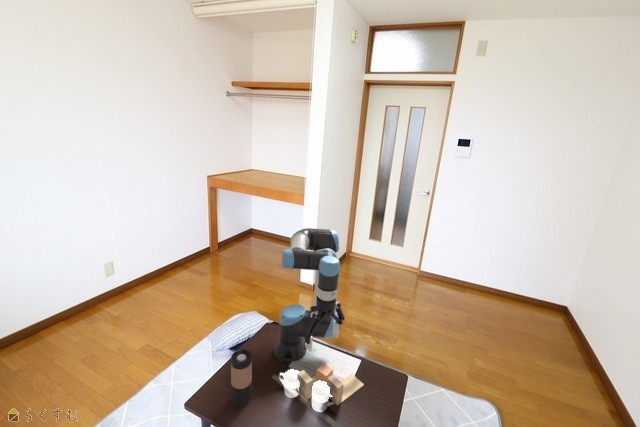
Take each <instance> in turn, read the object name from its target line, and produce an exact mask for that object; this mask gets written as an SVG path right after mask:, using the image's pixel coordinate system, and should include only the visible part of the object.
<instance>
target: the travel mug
mask: <svg viewBox="0 0 640 427" xmlns="http://www.w3.org/2000/svg"><path fill="white" fill-rule="evenodd" d="M252 360H253V359H252V352H251V351H249V350H247V349H242V350H239V351H238V350H236V351H234V352H233V353H232V354H231V357H230V385H231V386H230V387H231V401H232V403H233V404H234V406H237V407H241V406H246V405H247V404H248V403H249V402H250V400H251V397H252V380H253V379H252V378H253V376H252V374H253V373H252V372H253V371H252V370H253V366H252V364H253V363H252Z"/></svg>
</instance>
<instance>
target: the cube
mask: <svg viewBox="0 0 640 427" xmlns="http://www.w3.org/2000/svg"><path fill="white" fill-rule="evenodd" d="M332 375H334V368H333V367H331V366H330V365H328V364H326V363H325V362H324V363H323V364H321V365H320V366H319V367H318V368H317V369H316V375H315V376H316V379H317V380H321V381H325V382H327V379H328V378H329V377H330V376H332Z"/></svg>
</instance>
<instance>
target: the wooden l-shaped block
mask: <svg viewBox="0 0 640 427" xmlns="http://www.w3.org/2000/svg"><path fill="white" fill-rule="evenodd" d="M327 385H328V386H329V387H330V394H331V395H332V396H333V397H331V398H329V399H330V400H331V401H332V402H333V403H334V404H335V405H336V406H339V405H340V404H341V403H342V402H344V401H345V400H346V399H348V398H349V397H350V396H352V395H353V394H354V393H355V392H357V391H358V390H360V388H362V387H364V385H365V384H364V383H363V382H362V381H361V380H360V379H358V378H357V377H356V376H355V375H354V374H352V373H351V374H350V375H348V376H347V377H346V378H344V379H343V380H341V381H340V379H339V378H337V376H336V375H335V374H333V375H332V376H330V377H329V378H328V379H327Z"/></svg>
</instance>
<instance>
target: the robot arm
mask: <svg viewBox="0 0 640 427" xmlns="http://www.w3.org/2000/svg"><path fill="white" fill-rule="evenodd" d="M289 242H290V247H289V248H288V249H283V251H282V255H281V267H282V268H284V269H289V270H306V271H307V270H308V271H315V276H314V277H315V278H314V291H313V292H314V293H313V294H314V296H313V304H312V305H311V306H310V308H309V310H306V308H305V306H304V305H301V304H297V303H296V304H290V305H287V306H286V307H284V308H282V310H281V311H280V314H279V318H278V322H279V326H278V331H279V332H278V339H277V342H276V343H275V346H274V355H275V358H276V359H277V360H278V361H279V362H281V363H282V364H285V363H287V362H291V363H293V362H297V361H300V360H301V359H303V358H304V357H305V355H306V354H307V350H308V351H309V353H310V352H312V350H313V349H312V348H313V338H314V339H332V338H336V339H338V338H339V332H340V329H341V325H342V324H344V323H343V321H345V316H344V315H345V314H344V313H343V310H342V307H341V306H342V305H341V302H339V301H338V300H337V296H338V284H339V277H340V276H339V275H340V271H341V270H340V269H341V267H340V266H341V265H340V263H341V262H340V260H339V258H338V257H337V253H338V252H339V250H340V239H339V234H338V232H337V230H335V229H325V228H323V229H322V228H311V227H310V228H309V227H306V228H302V229H300V230H299V229H298V231H296V232H294V233H293V234H292V235H291V238H290V241H289Z"/></svg>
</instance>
